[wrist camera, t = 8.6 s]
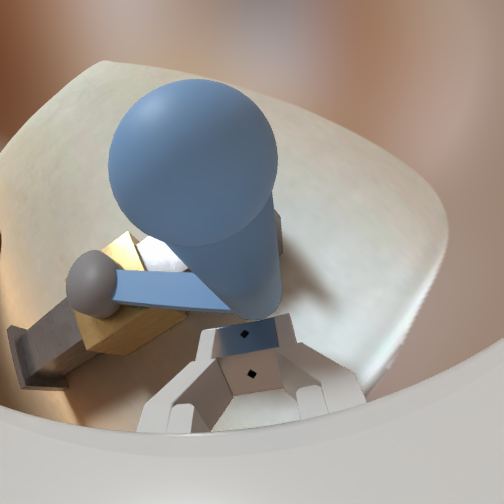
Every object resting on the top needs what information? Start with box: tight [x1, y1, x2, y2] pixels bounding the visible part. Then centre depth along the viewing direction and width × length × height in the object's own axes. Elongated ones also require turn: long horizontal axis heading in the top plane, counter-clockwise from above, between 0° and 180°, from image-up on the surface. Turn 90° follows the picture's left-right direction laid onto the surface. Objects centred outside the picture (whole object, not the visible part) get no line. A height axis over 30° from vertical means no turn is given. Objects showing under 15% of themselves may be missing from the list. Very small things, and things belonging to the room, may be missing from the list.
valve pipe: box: [7, 210, 283, 391], centre depth 20 cm, size 26×6×6 cm, turn 123°
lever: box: [66, 79, 282, 320], centre depth 11 cm, size 15×4×13 cm, turn 86°
